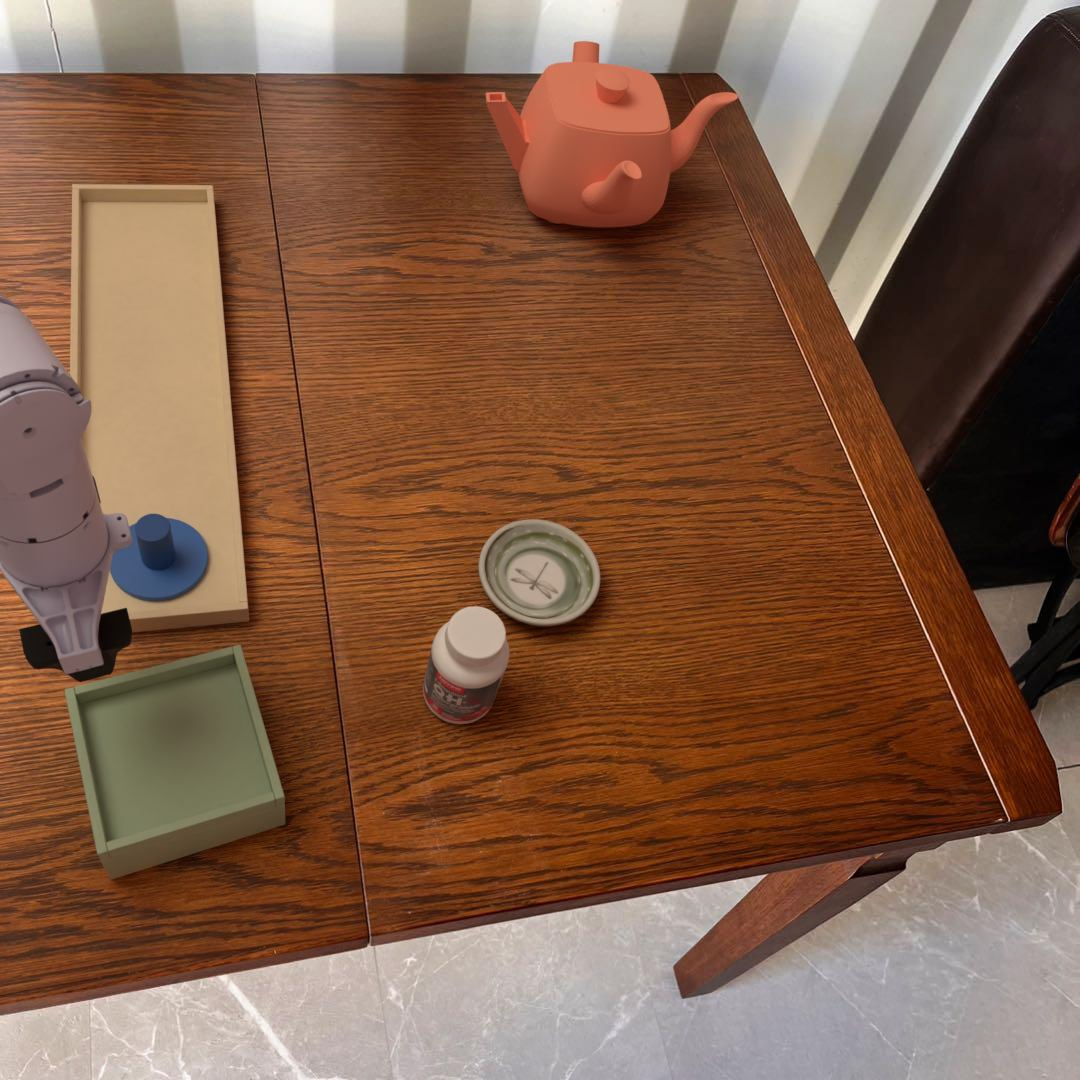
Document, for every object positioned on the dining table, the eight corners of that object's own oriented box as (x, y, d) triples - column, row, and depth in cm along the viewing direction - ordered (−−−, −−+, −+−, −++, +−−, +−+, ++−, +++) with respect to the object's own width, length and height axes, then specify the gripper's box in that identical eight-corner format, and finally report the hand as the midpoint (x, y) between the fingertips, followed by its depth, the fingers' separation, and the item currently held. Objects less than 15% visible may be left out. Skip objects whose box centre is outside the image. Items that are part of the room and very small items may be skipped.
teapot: (699, 201, 116) (743, 87, 105) (603, 284, 107) (640, 169, 95) (564, 115, 120) (593, -4, 109) (460, 188, 110) (479, 66, 99)
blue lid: (119, 611, 78) (110, 579, 74) (100, 533, 81) (91, 498, 77) (218, 588, 81) (214, 556, 77) (196, 513, 84) (191, 478, 80)
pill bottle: (421, 725, 78) (435, 665, 70) (422, 658, 81) (436, 593, 73) (495, 728, 79) (518, 669, 71) (494, 661, 82) (515, 598, 74)
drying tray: (249, 621, 80) (248, 608, 78) (71, 638, 77) (66, 625, 75) (214, 201, 103) (212, 184, 101) (75, 201, 99) (72, 183, 98)
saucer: (605, 554, 89) (612, 538, 87) (579, 654, 84) (586, 640, 82) (493, 519, 89) (497, 502, 87) (460, 616, 84) (464, 601, 82)
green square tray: (110, 880, 69) (97, 854, 64) (78, 723, 74) (63, 688, 69) (285, 824, 73) (284, 796, 68) (243, 678, 78) (240, 643, 73)
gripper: (146, 594, 55) (174, 703, 66) (91, 379, 61) (125, 512, 72) (-5, 631, 52) (51, 737, 64) (-46, 402, 59) (11, 536, 70)
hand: (82, 619), depth 68 cm, fingers open, 7 cm apart
